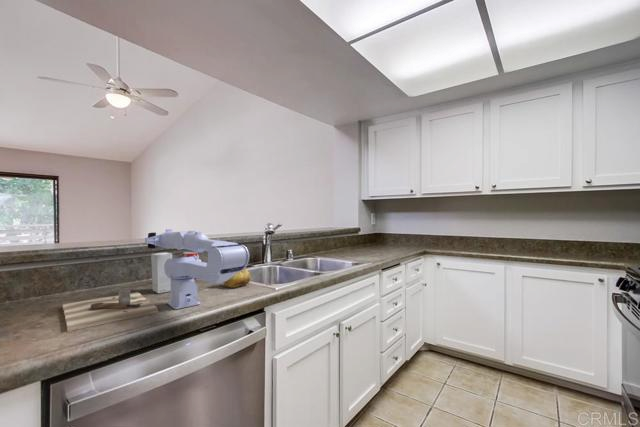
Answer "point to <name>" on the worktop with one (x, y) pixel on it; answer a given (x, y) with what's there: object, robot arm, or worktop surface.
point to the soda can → (190, 254)
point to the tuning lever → (123, 303)
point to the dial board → (104, 311)
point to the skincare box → (160, 272)
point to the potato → (238, 279)
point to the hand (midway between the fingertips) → (158, 240)
